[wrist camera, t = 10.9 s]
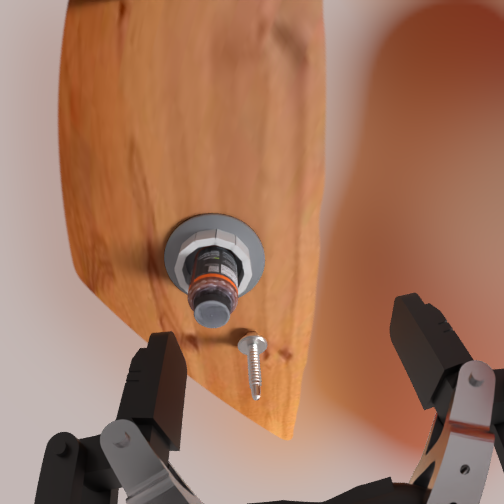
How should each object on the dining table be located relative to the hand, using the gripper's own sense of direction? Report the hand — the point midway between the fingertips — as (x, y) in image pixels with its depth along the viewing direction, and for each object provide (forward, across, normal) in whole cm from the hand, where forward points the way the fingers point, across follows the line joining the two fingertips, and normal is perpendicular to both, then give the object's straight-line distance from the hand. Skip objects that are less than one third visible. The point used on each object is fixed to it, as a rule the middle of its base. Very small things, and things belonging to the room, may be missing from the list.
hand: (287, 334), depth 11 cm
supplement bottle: (+30, +7, +14) cm, 33 cm away
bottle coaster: (+30, +7, +14) cm, 34 cm away
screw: (+30, +4, +30) cm, 43 cm away
